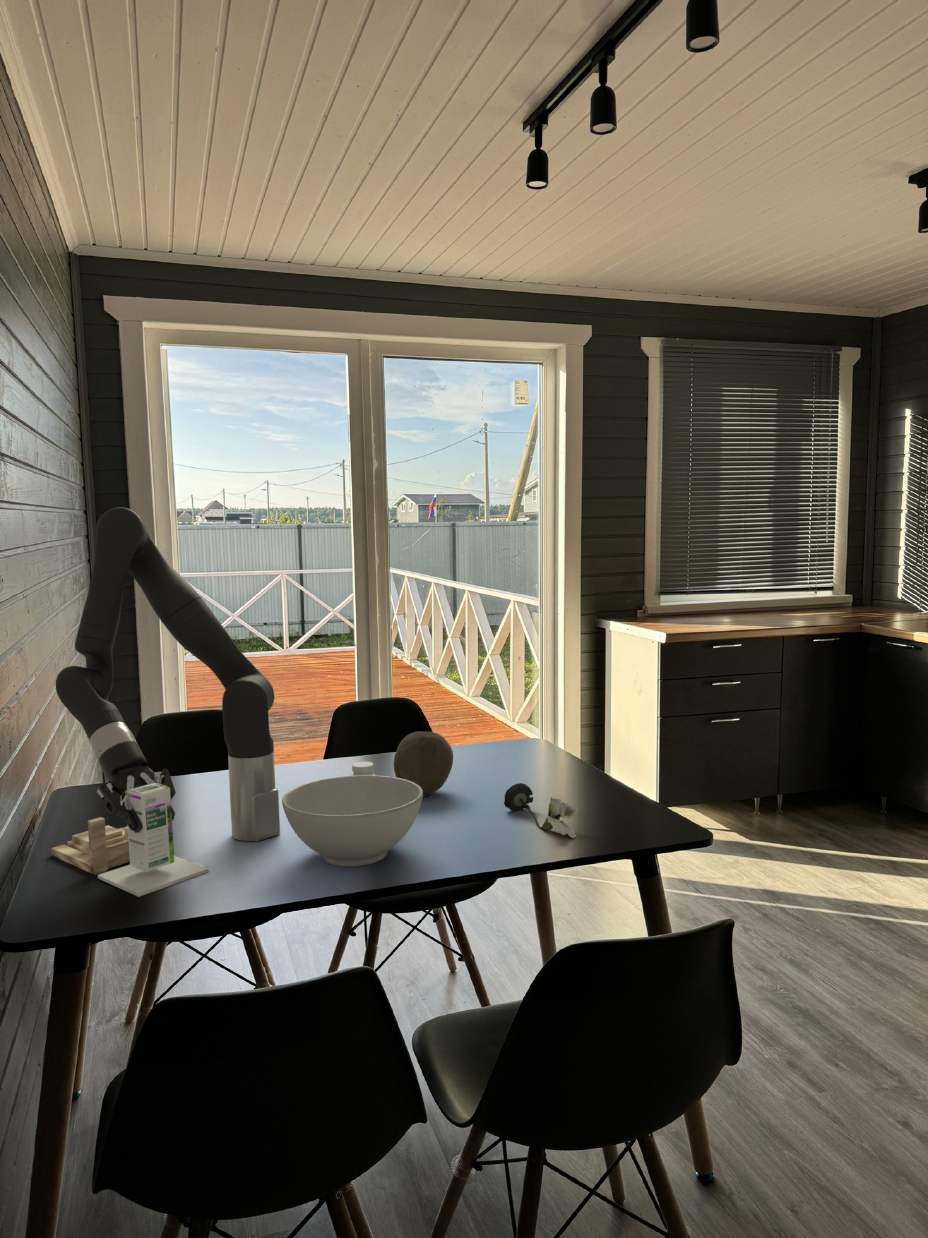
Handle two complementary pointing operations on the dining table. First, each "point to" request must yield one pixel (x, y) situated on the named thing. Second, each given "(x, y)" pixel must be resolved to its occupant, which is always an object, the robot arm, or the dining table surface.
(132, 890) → the grey mat
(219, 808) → the dining table surface
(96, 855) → the birch rack
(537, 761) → the dining table surface
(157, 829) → the syrup box
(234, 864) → the dining table surface
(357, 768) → the pill bottle
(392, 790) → the decorative bowl
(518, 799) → the artificial flower
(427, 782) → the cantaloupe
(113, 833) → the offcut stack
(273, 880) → the dining table surface
